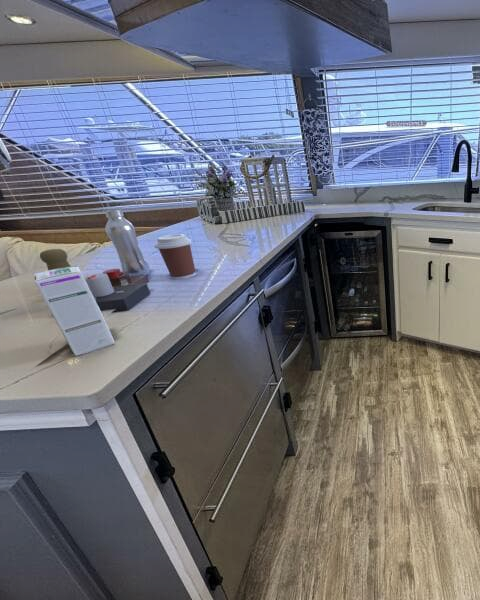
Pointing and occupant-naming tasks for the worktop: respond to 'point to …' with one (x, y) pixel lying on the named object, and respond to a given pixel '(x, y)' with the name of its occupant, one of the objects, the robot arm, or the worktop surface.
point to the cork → (55, 258)
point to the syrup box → (74, 309)
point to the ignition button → (113, 273)
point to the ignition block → (128, 279)
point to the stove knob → (99, 284)
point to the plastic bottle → (125, 243)
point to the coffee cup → (177, 255)
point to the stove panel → (123, 297)
